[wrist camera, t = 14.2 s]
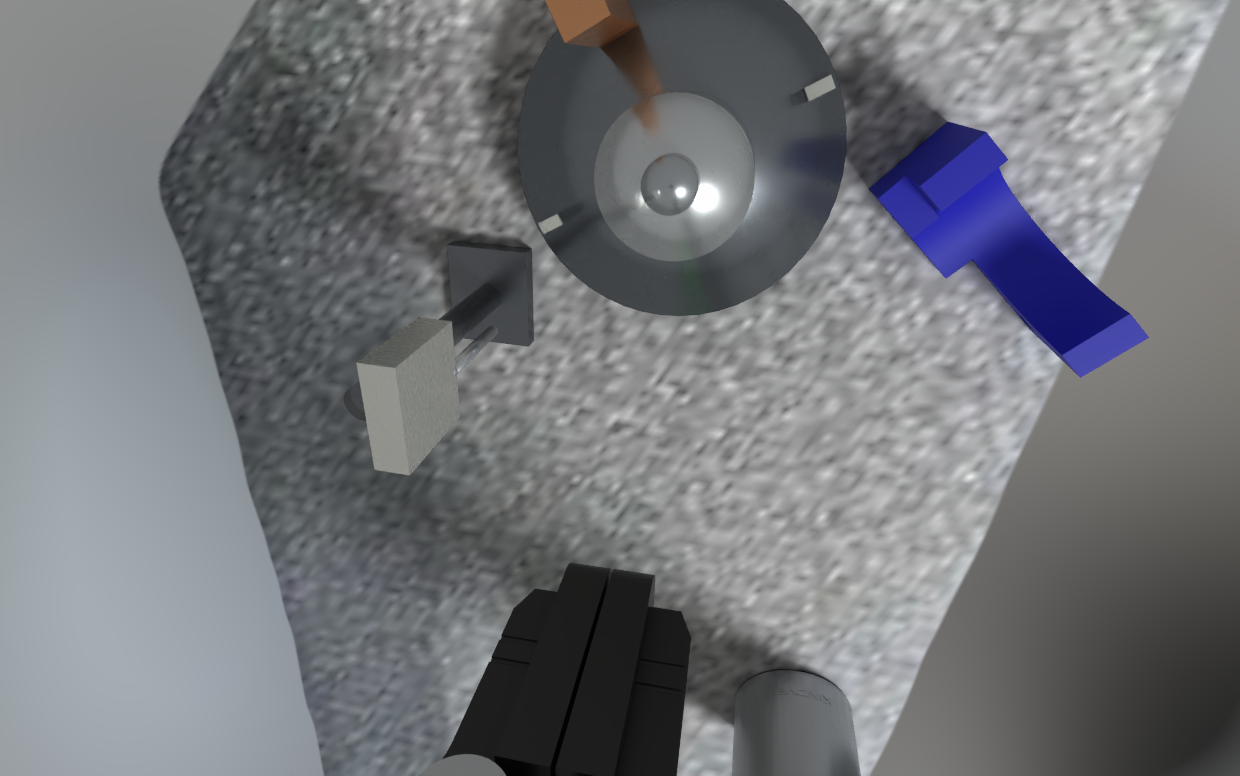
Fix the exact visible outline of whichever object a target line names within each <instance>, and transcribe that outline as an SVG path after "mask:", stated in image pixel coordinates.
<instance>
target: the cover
mask: <svg viewBox="0 0 1240 776" xmlns="http://www.w3.org/2000/svg"><path fill="white" fill-rule="evenodd" d="M754 181H755V153H754V148H753V143H752V140H751V137H750V134H749V132H748V130H747V128H746V126H745V124H744V123H743V121H742V120H741V118H740V117H739V116H738V115H737V114H736V112H735V111H734V110H733V109H732V108H730V107H729V106H728V105H727V104H726V103H724V102H723V101H721V100H719V99H718V98H716V97H714V96H711V95H709V94H706V93H703V92H699V91H691V90H679V91H673V92H667V93H664V94H660V95H656V96H653V97H650V98H646V99H644V100H642V101H640V102H638V103H636V104H635V105H633V106H632V107H630V108H629V109H627V110H626V111H625V112H624V113H623V114H622V115H620V116H619V117H618V118H617V120H616V121H615V122H614V123H613V124H612V125H611V127H610V128H609V130H608V131H607V133H606V135H605V137H604V139H603V141H602V143H601V145H600V148H599V151H598V154H597V158H596V163H595V171H594V187H595V193H596V198H597V202H598V205H599V208H600V211H601V213H602V215H603V218H604V219H605V221H606V223H607V224H608V226H609V227H610V229H611V230H612V231H613V233H614V234H615V235H616V236H617V237H618V238H619V239H620V240H621V241H622V242H623V243H624V244H626V245H627V246H628V247H630V248H631V249H633V250H634V251H636V252H638V253H640V254H642V255H644V256H647V257H650V258H653V259H657V260H663V261H685V260H690V259H694V258H698V257H700V256H703V255H706V254H707V253H709V252H711V251H713V250H715V249H716V248H718V247H719V246H721V245H722V244H723V243H724V242H725V241H727V240H728V239H729V238H730V237H731V236H732V235H733V233H734V232H735V231H736V230H737V229H738V227H739V226H740V224H741V223H742V221H743V220H744V217H745V215H746V213H747V211H748V209H749V206H750V203H751V200H752V196H753V191H754Z"/></svg>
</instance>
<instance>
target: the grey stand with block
mask: <svg viewBox="0 0 1240 776" xmlns="http://www.w3.org/2000/svg"><path fill="white" fill-rule="evenodd" d="M447 255H448V266H449V278H450V289H451V301H452V309H451V310H450V311H449V312H447V313H446V314H445V315H443V316H442V317H441V318H440V319H438V320H437V319H428V318H420V317H419V318H417V319H416V320H414V321H413V322H412V323H410V324H409V325H408V326H406V327H405V328H403V329H402V330H401V331H399V332H398V333H397V334H395V335H394V336H393V337H391V338H390V339H388V340H387V341H386V342H384V343H383V344H382V345H380V346H379V347H377V348H376V349H375V350H373V351H372V352H371V353H369V354H368V355H366V356H365V357H364V358H362V359H361V360H360V361H358V362H357V369H358V375H359V382H358V383H356V384H355V385H354V386H352V387H351V388H350V389H349V390H347V392H346V393H345V395H344V403H345V406H346V408H347V409H348V411H349V412H350V413H351V414H352V415H353V416H354V417H356V418H358V419H360V420H363V421H366V422H367V428H368V434H369V440H370V446H371V451H372V457H373V463H374V469H375V470H380V471H386V472H392V473H398V474H404V475H411V473H412V472H413V471H414V470H415V469H416V468H417V466H418V465H419V464H420V463H421V462H422V461H423V459H424V458H425V457H426V456H427V455H428V454H429V452H430V451H431V450H432V449H433V448H434V447H435V445H436V444H437V443H438V442H439V441H440V440H441V438H442V437H443V436H444V435H445V434H446V433H447V432H448V430H449V429H450V428H451V427H452V426H453V425H454V423H455V422H456V421H457V420H458V419H459V418H460V410H459V399H458V387H457V376H456V375H457V374H458V373H459V372H460V371H461V370H462V369H463V368H464V367H465V366H466V365H467V364H468V363H469V362H470V361H471V360H472V359H473V358H474V357H475V356H476V355H477V354H478V353H479V352H480V351H481V350H482V349H483V348H484V347H485V346H486V345H487V344H488V343H489V342H497V343H505V344H513V345H521V346H530V344H531V343H532V342H533V341H534V330H533V283H532V249H528V248H518V247H508V246H498V245H488V244H479V243H469V242H459V241H453V242H451V243H449V244H448V245H447ZM463 338H465V339H473V340H474V341H473V342H472V343H471V344H470V345H469V346H468V347H467V348H466V349H465V350H464V351H463V352H462V353H460V354H459V355H458V356H457V357H456V358H455V353H454V346H455V345H457V344H458V343H459V342H460V341H461V340H462V339H463Z"/></svg>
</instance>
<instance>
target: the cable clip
mask: <svg viewBox="0 0 1240 776" xmlns="http://www.w3.org/2000/svg"><path fill="white" fill-rule="evenodd" d="M1007 160H1008V159H1007V158H1006V156H1005V155H1004V154H1003V153H1002V151H1001V150H1000V149H999V148H998V146H997V145H996V144H995V143H994V141H993V140H992V139H991V138H990V136H989V135H988V134H987V132H984V131H980V130H976V129H973V128H969V127H965V126H962V125H958V124H954V123H951V122H947V123H946V124H945V125H943V126H942V127H941V128H940V129H939V130H937V131H936V132H935V133H934V134H933V135H932V136H930V137H929V138H928V139H927V140H926V141H925V142H923V143H922V144H921V145H920V146H919V147H917V148H916V149H915V150H914V151H913V152H912V153H910V154H909V155H908V156H907V157H906V158H904V159H903V160H902V161H901V162H900V163H899V164H897V165H896V166H895V167H894V168H893V169H892V170H890V171H889V172H888V173H887V174H886V175H884V176H883V177H882V178H881V179H880V180H879V181H877V182H876V183H875V184H874V185H873V186H872V187H870V188H869V190H870V191H871V192H872V193H873V195H874V196H875V197H876V198H877V199H878V200H879V202H880V203H881V204H882V205H883V206H884V207H885V209H886V210H887V211H888V212H889V213H890V214H891V216H892V217H893V218H894V219H895V220H896V221H897V222H898V224H899V225H900V226H901V227H902V228H903V229H904V231H905V232H906V233H907V234H908V235H909V236H910V238H911V239H912V240H913V241H914V242H915V243H916V245H917V246H918V247H919V248H920V249H921V250H922V252H923V253H924V254H925V255H926V256H927V257H928V259H929V260H930V261H931V262H932V263H933V264H934V266H935V267H936V268H937V269H938V270H939V271H940V272H941V274H942V275H943V276H944V277H945V278H947V277H949V276H950V275H952V274H953V273H954V272H956V271H957V270H958V269H960V268H961V267H963V266H964V265H965V264H967V263H968V262H970V261H971V260H972V261H973V262H974V263H975V264H976V266H977V267H978V268H979V269H980V270H981V272H982V273H983V274H984V275H985V276H986V277H987V279H988V280H989V281H990V282H991V283H992V285H993V286H994V287H995V288H996V289H997V291H998V292H999V293H1000V294H1001V295H1002V296H1003V298H1004V299H1005V300H1006V301H1007V302H1008V304H1009V305H1010V306H1011V307H1012V308H1013V310H1014V311H1015V312H1016V313H1017V314H1018V315H1019V317H1020V318H1021V319H1022V320H1023V321H1024V323H1025V324H1026V325H1027V326H1028V327H1029V329H1030V330H1031V331H1032V332H1033V333H1034V334H1035V335H1036V336H1037V337H1038V338H1039V339H1040V340H1041V341H1043V342H1044V343H1045V344H1046V345H1047V346H1048V347H1049V348H1050V349H1051V350H1052V351H1053V352H1054V353H1055V354H1056V355H1057V356H1058V357H1059V358H1060V359H1061V360H1062V361H1063V362H1065V363H1066V364H1067V365H1068V366H1069V367H1070V368H1071V369H1072V370H1073V371H1074V372H1075V373H1076V374H1077V375H1078V376H1079V377H1080V378H1081V377H1082V376H1084V375H1086V374H1088V373H1089V372H1091V371H1093V370H1094V369H1096V368H1098V367H1100V366H1101V365H1103V364H1105V363H1106V362H1108V361H1110V360H1112V359H1113V358H1115V357H1117V356H1118V355H1120V354H1122V353H1123V352H1125V351H1127V350H1129V349H1130V348H1132V347H1134V346H1135V345H1137V344H1139V343H1141V342H1142V341H1144V340H1146V339H1147V338H1149V337H1148V336H1147V334H1146V333H1145V332H1144V330H1143V329H1142V328H1141V327H1140V325H1139V324H1138V323H1137V322H1136V320H1135V319H1134V318H1133V317H1132V315H1131V314H1130V313H1128V312H1127V311H1125V310H1124V309H1123V308H1121V307H1120V306H1119V305H1117V304H1116V303H1115V302H1114V301H1112V300H1111V299H1110V298H1109V297H1108V296H1106V295H1105V294H1104V293H1103V292H1102V291H1100V290H1099V289H1098V288H1097V287H1096V286H1095V285H1094V284H1093V283H1092V282H1091V281H1089V280H1088V279H1087V278H1086V277H1085V276H1084V275H1083V274H1082V273H1081V272H1080V271H1079V270H1078V269H1077V268H1076V267H1075V266H1074V265H1073V264H1072V263H1071V262H1070V261H1069V260H1068V259H1067V258H1066V257H1065V256H1064V255H1063V254H1062V253H1061V252H1060V251H1059V250H1058V248H1057V247H1056V246H1055V245H1054V244H1053V243H1052V242H1051V241H1050V240H1049V239H1048V237H1047V236H1046V235H1045V234H1044V233H1043V232H1042V231H1041V229H1040V228H1039V227H1038V226H1037V225H1036V223H1035V222H1034V221H1033V220H1032V219H1031V217H1030V216H1029V215H1028V214H1027V212H1026V211H1025V210H1024V208H1023V207H1022V206H1021V204H1020V203H1019V202H1018V200H1017V199H1016V197H1015V196H1014V194H1013V193H1012V192H1011V190H1010V188H1009V187H1008V185H1007V183H1006V182H1005V180H1004V178H1003V176H1002V174H1001V172H1000V169H999V167H1000V166H1001V165H1002V164H1004V163H1005V162H1006V161H1007Z"/></svg>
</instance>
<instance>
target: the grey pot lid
mask: <svg viewBox="0 0 1240 776" xmlns="http://www.w3.org/2000/svg"><path fill="white" fill-rule="evenodd" d="M545 2H546V4H547V6H548V8H549V10H550V12H551V14H552V17H553V19H554V21H555V23H556V25H557V27H558V30H557V31H556V32H555V34H554V35H553V36H552V37H551V39H550V40H549V42H548V43H547V45H546V47H545V48H544V50H543V52H542V54H541V55H540V57H539V59H538V61H537V63H536V65H535V68H534V70H533V72H532V75H531V77H530V80H529V82H528V85H527V89H526V92H525V96H524V99H523V103H522V108H521V115H520V121H519V131H518V156H519V168H520V175H521V179H522V184H523V189H524V193H525V196H526V199H527V202H528V205H529V208H530V211H531V214H532V216H533V218H534V220H535V222H536V224H537V227H538V229H539V231H540V232H541V234H542V236H543V237H544V239H545V240H546V242H547V244H548V245H549V247H550V248H551V250H552V251H553V252H554V253H555V255H556V256H557V257H558V258H559V260H560V261H561V262H562V263H563V264H564V265H565V266H566V267H567V268H568V269H569V270H570V271H571V272H572V273H573V274H574V275H575V276H576V277H577V278H578V279H580V280H581V281H582V282H583V283H585V284H586V285H587V286H588V287H590V288H591V289H593V290H594V291H596V292H598V293H599V294H601V295H603V296H604V297H606V298H608V299H610V300H612V301H614V302H617V303H619V304H621V305H623V306H626V307H629V308H633V309H636V310H639V311H642V312H648V313H653V314H659V315H672V316H686V315H699V314H704V313H710V312H715V311H719V310H722V309H725V308H728V307H731V306H734V305H737V304H739V303H741V302H744V301H746V300H748V299H750V298H752V297H754V296H756V295H758V294H759V293H761V292H762V291H764V290H766V289H767V288H769V287H770V286H772V285H773V284H774V283H776V282H777V281H778V280H779V279H780V278H782V277H783V276H784V275H785V274H787V273H788V272H789V271H790V270H791V269H792V268H793V267H794V266H795V265H796V264H797V263H798V261H799V260H800V259H801V258H802V257H803V256H804V255H805V254H806V252H807V251H808V250H809V248H810V247H811V245H812V244H813V243H814V241H815V240H816V239H817V237H818V235H819V233H820V232H821V230H822V228H823V226H824V225H825V223H826V221H827V219H828V217H829V215H830V212H831V210H832V208H833V205H834V203H835V200H836V198H837V194H838V191H839V187H840V183H841V180H842V176H843V170H844V163H845V156H846V129H847V127H846V119H845V110H844V102H843V98H842V94H841V91H840V87H839V83H838V79H837V76H836V74H835V72H834V69H833V67H832V64H831V62H830V59H829V57H828V55H827V53H826V52H825V50H824V48H823V46H822V45H821V43H820V41H819V40H818V38H817V36H816V35H815V33H814V32H813V31H812V30H811V28H810V27H809V26H808V25H807V23H806V22H805V21H804V20H803V18H802V17H801V16H800V15H799V14H798V13H797V12H796V11H795V10H794V9H793V8H792V7H791V6H789V5H788V4H787V3H786V2H785V1H784V0H545ZM679 90H691V91H699V92H703V93H706V94H709V95H711V96H714V97H716V98H718V99H719V100H721V101H723V102H724V103H726V104H727V105H728V106H729V107H730V108H732V109H733V110H734V111H735V112H736V114H737V115H738V116H739V117H740V118H741V120H742V121H743V123H744V124H745V126H746V128H747V130H748V132H749V134H750V137H751V140H752V143H753V148H754V153H755V181H754V191H753V196H752V200H751V203H750V206H749V209H748V211H747V213H746V215H745V217H744V220H743V221H742V223H741V224H740V226H739V227H738V229H737V230H736V231H735V232H734V233H733V235H732V236H731V237H730V238H729V239H728V240H727V241H725V242H724V243H723V244H722V245H721V246H719V247H718V248H716V249H715V250H713V251H711V252H709V253H707V254H706V255H703V256H700V257H698V258H694V259H690V260H685V261H663V260H657V259H653V258H650V257H647V256H644V255H642V254H640V253H638V252H636V251H634V250H633V249H631V248H630V247H628V246H627V245H626V244H624V243H623V242H622V241H621V240H620V239H619V238H618V237H617V236H616V235H615V234H614V233H613V231H612V230H611V229H610V227H609V226H608V224H607V223H606V221H605V219H604V218H603V215H602V213H601V211H600V208H599V205H598V202H597V198H596V193H595V187H594V171H595V163H596V158H597V154H598V151H599V148H600V145H601V143H602V141H603V139H604V137H605V135H606V133H607V131H608V130H609V128H610V127H611V125H612V124H613V123H614V122H615V121H616V120H617V118H618V117H619V116H620V115H622V114H623V113H624V112H625V111H626V110H627V109H629V108H630V107H632V106H633V105H635V104H636V103H638V102H640V101H642V100H644V99H646V98H650V97H653V96H656V95H660V94H664V93H667V92H673V91H679Z"/></svg>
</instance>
